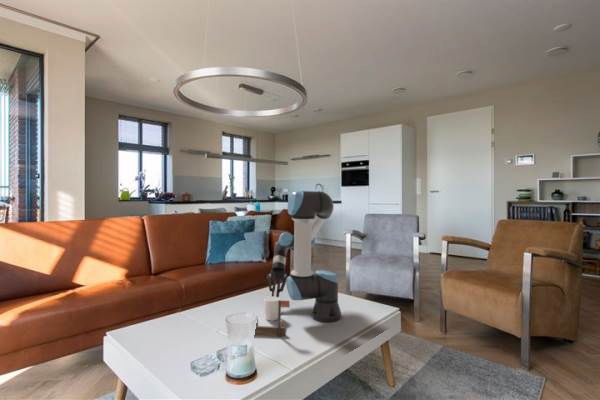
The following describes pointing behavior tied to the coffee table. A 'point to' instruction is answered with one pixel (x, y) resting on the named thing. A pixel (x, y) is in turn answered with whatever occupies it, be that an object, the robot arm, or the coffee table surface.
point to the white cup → (271, 308)
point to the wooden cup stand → (273, 330)
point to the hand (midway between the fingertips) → (274, 302)
